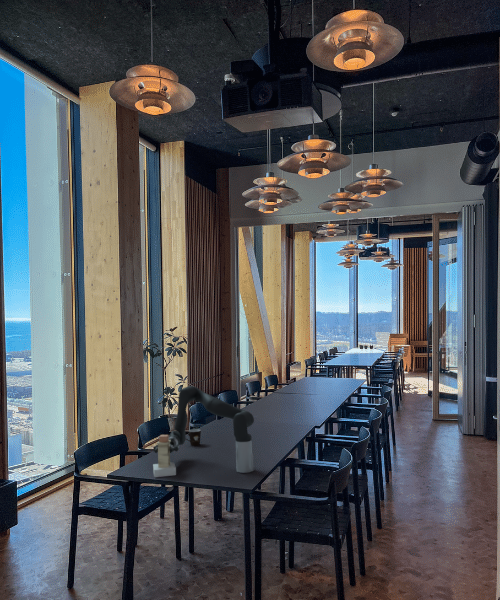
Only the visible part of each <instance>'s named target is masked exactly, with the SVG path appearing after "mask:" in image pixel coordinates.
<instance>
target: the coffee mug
mask: <svg viewBox="0 0 500 600" xmlns="http://www.w3.org/2000/svg"><path fill="white" fill-rule="evenodd" d="M201 433H202V430H201V429H199V428H196V429H195V428H192V429H189V430H188V432H185V435H188V436H189V439H187V438H186V439H185V441H186V440H187V441H188V442H189V443H190V444H189V445H190V446H192V447H198V446H200V445H201V436H202V435H201Z"/></svg>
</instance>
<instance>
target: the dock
mask: <svg viewBox="0 0 500 600" xmlns="http://www.w3.org/2000/svg"><path fill="white" fill-rule="evenodd" d="M152 469H153V470H152V472H153V473H152V474H153V477H154V478H160V477H161V478H162V477H169V476H170V477H171V476H176V475H177V467H176V465H175V462H174V461H173V462H171V461H170V465H169V467H158V463H153V464H152Z"/></svg>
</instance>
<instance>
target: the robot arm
mask: <svg viewBox="0 0 500 600" xmlns="http://www.w3.org/2000/svg"><path fill="white" fill-rule="evenodd" d="M193 401H195V402H199V403H200V404H202V405H203V407H204V408H205V410H206V411H207V412H209V413H211V414H212V415H215V416H218V417H222V418H228V419H232V425H233V426H232V428H233V435H234V438H235V464H236V465H235V466H236V472H237V473H243V474H247V473H251V472H254V454H253V448H252V447H253V442H252V439H253V437H252V434H250V433H249V432H248V428H249V427H252V425H253V424H254V421H255V418H254V415H253V414H252V413H251V412H250V411H248V410H245V409H242V408H238V407H236V406H234V405H233V404H230V403H228V402H225V401H224V400H221V399H220V398H217V397H215V396H213V395H210V394H208V393H206V392H204V391H203V390H201V389H200V388H198V387H196V386H194V385H189V386H186V387H183V388H182V389H180V390H179V393H178V403H177V415H176V419H175V423H174V427H173V428H174V430H173V431H171V432H170V434H168V435H169V440H171V442H170V454H172V453H174V452H178V451H179V450H180V446H183V445H184V444H185V442H186V439H187V437H186V435H187V434H185V433H186V428H187V424H188V419H189V418H188V413H187V407H188V404H189V403H190V402H193ZM153 453H155V454H158V444H156V445H154V446H153Z"/></svg>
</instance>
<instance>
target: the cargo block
mask: <svg viewBox="0 0 500 600" xmlns="http://www.w3.org/2000/svg"><path fill="white" fill-rule="evenodd" d="M169 435H170V434H160V435H159V436H158V441H159V442H167V441H168V440H169Z"/></svg>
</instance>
